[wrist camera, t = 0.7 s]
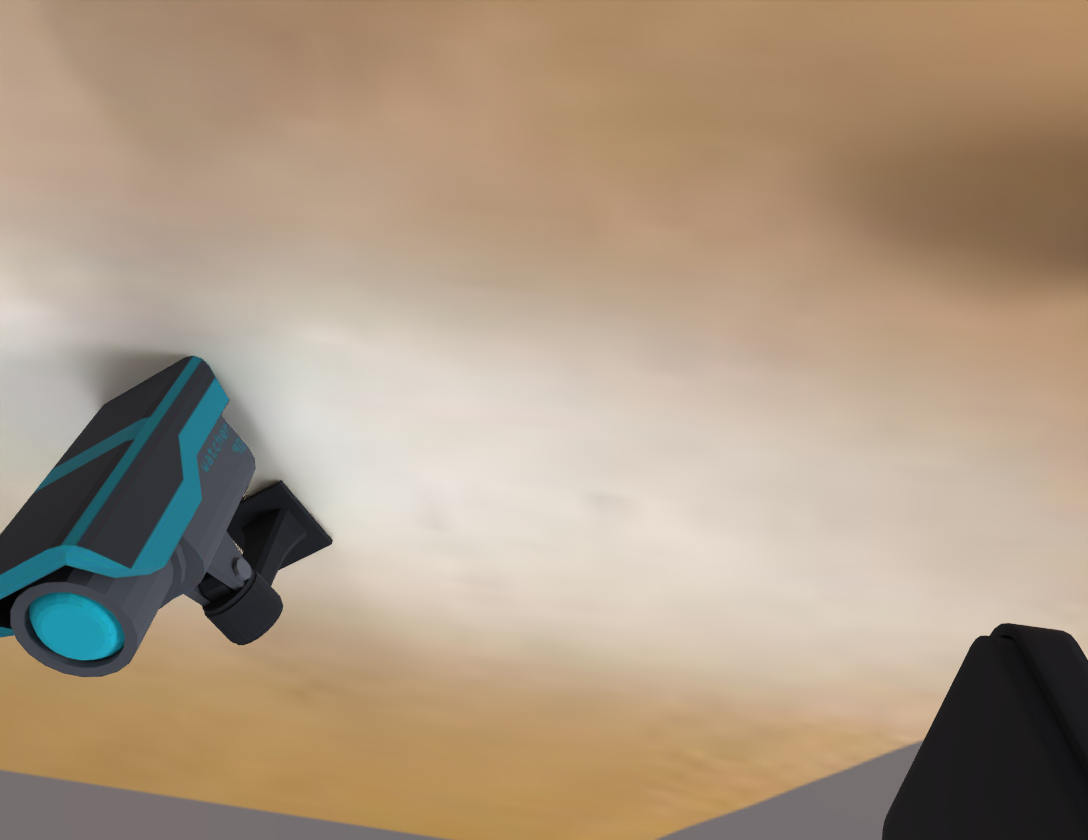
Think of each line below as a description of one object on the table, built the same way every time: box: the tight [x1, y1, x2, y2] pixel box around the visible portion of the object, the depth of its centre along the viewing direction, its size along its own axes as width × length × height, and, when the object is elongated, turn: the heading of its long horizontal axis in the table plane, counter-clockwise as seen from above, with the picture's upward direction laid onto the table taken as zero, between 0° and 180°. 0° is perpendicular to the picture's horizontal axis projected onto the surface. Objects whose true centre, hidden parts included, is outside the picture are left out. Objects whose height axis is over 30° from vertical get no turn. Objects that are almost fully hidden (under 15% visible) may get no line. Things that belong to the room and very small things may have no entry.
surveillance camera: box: [0, 356, 333, 677], centre depth 38 cm, size 6×12×10 cm
